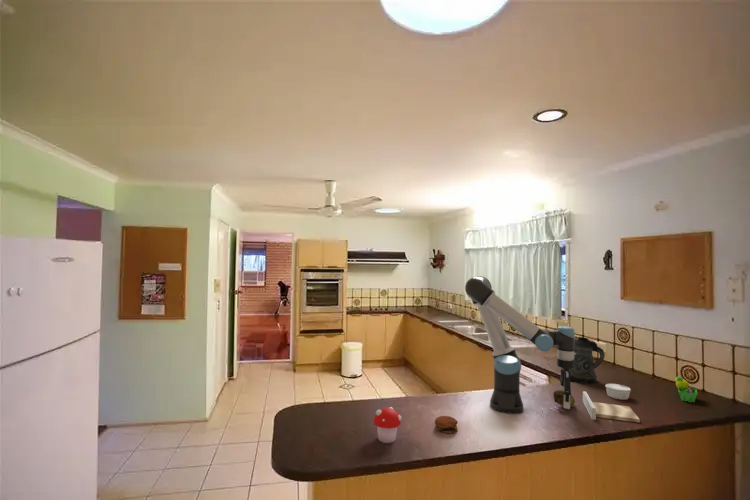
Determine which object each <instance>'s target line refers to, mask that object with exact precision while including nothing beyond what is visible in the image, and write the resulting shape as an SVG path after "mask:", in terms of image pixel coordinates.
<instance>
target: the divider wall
mask: <svg viewBox="0 0 750 500" xmlns="http://www.w3.org/2000/svg"><path fill="white" fill-rule="evenodd" d="M592 402H593V401H592V399H591V398H590V396H589V394H588V393H587V391H582V403H583V405H584V406H585V408H586V410H587V412H588V414H589V416H590V418H591V420H593V421H594V420H595V421H596V419H597V417H596V408H595V406H594V405H593V403H592Z"/></svg>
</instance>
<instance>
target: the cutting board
mask: <svg viewBox="0 0 750 500" xmlns="http://www.w3.org/2000/svg"><path fill="white" fill-rule="evenodd" d="M592 403H593V405H594V406H595V408H596V418H603V419H609V420H617V421H624V422H633V423H640V421H641V420H640V417H639V416H638V415H637V413H635V412H634V411H633V409H632V408H631V407H630V406H628V405H619V404H613V403H606V402H605V403H604V402H596V401H592Z"/></svg>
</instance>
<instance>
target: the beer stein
mask: <svg viewBox="0 0 750 500" xmlns="http://www.w3.org/2000/svg"><path fill="white" fill-rule="evenodd" d="M593 352H597V353H598V354H599V358H598V359H597V361H595V362H594V358H593V357H594V356H593ZM574 353H576V355H574V359H573V360H574V368H572V369H569V371H570V373H571V375H570V382H575V383H578V384H595V383H596V382H597V379H598V378H597V374H596V371H595V369H596V368H598V367H600V366H601V364H602V363H603V362H604V360H605V351H604V349H603V348H601V346H598V344H597V343H596V342H595V341H593V340H590V339H589V338H588V337H579V336H578V338H577V339H576V340H575V345H574Z"/></svg>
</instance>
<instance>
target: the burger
mask: <svg viewBox="0 0 750 500" xmlns="http://www.w3.org/2000/svg"><path fill="white" fill-rule="evenodd" d="M458 423H459V421H458V419H456V418H454V417H453V416H449V415H440V416H438V417H436V418H435V420H434V425H435V427H434V428H435V429H436V430H437V431H438V432H442V433H444V434H446V433H448V434H454V433H456V432H458V426H457V424H458Z"/></svg>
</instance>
